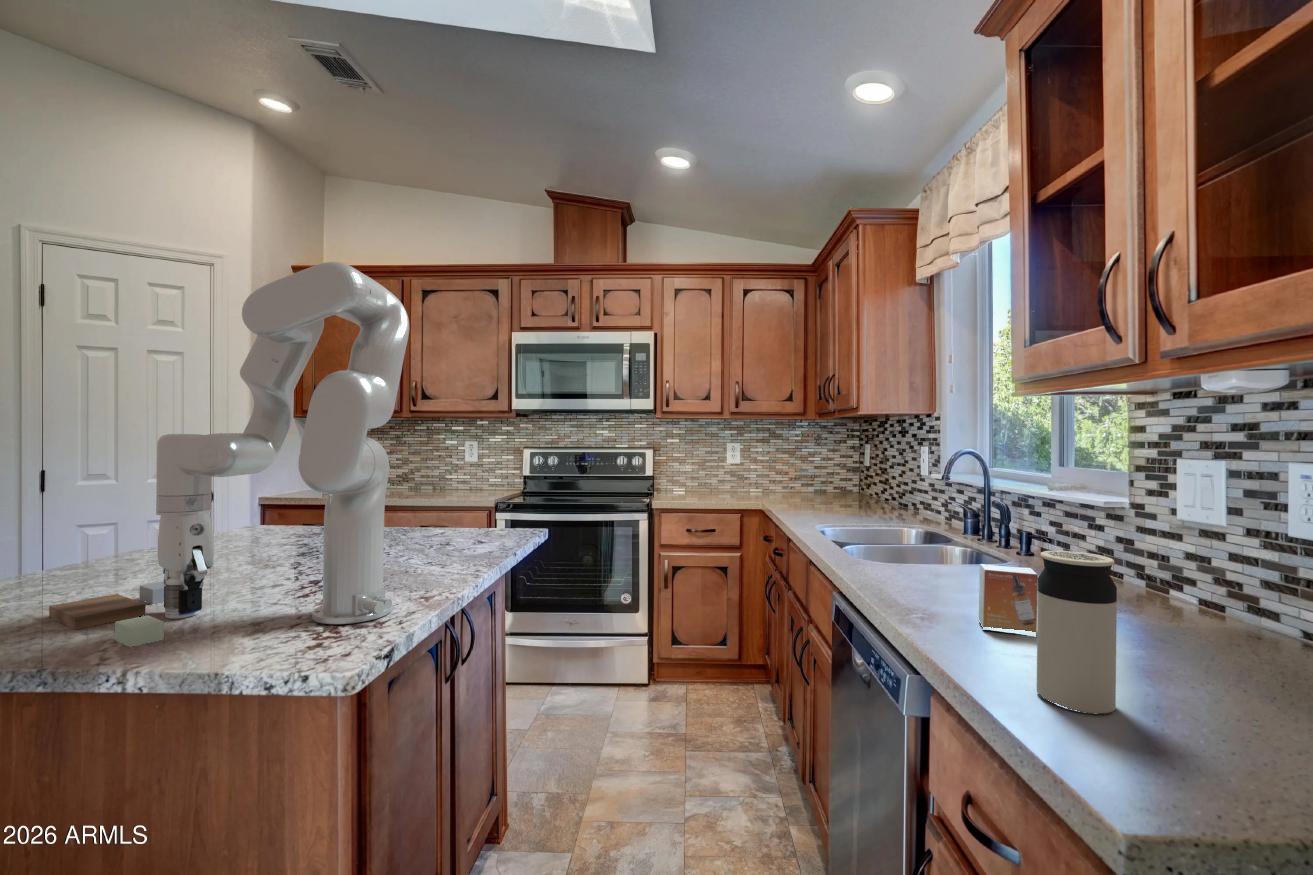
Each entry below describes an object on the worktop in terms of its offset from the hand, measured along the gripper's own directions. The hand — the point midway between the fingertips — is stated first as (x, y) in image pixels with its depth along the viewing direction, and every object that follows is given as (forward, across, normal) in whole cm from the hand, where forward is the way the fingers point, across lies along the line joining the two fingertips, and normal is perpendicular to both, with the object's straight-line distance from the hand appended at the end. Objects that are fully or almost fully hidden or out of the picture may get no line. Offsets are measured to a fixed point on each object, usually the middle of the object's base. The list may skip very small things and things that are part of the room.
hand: (182, 608), depth 103 cm
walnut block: (+1, +11, +8) cm, 14 cm away
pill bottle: (+1, 0, 0) cm, 1 cm away
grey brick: (+1, +15, -2) cm, 15 cm away
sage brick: (+1, -9, +9) cm, 13 cm away
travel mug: (+1, -131, -42) cm, 138 cm away
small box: (+1, -124, -70) cm, 142 cm away
